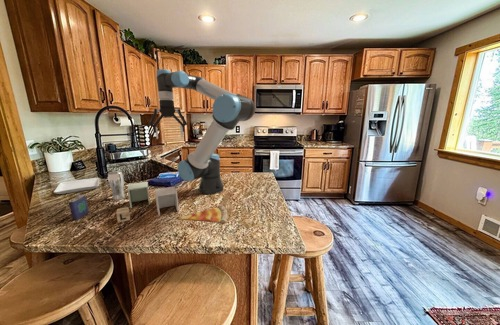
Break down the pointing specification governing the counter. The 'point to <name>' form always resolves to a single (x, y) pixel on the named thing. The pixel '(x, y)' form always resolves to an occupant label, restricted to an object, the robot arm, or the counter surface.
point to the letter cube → (123, 214)
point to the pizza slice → (209, 215)
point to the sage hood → (138, 192)
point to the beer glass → (116, 184)
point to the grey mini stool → (166, 198)
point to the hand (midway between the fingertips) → (170, 138)
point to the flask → (78, 207)
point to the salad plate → (77, 186)
